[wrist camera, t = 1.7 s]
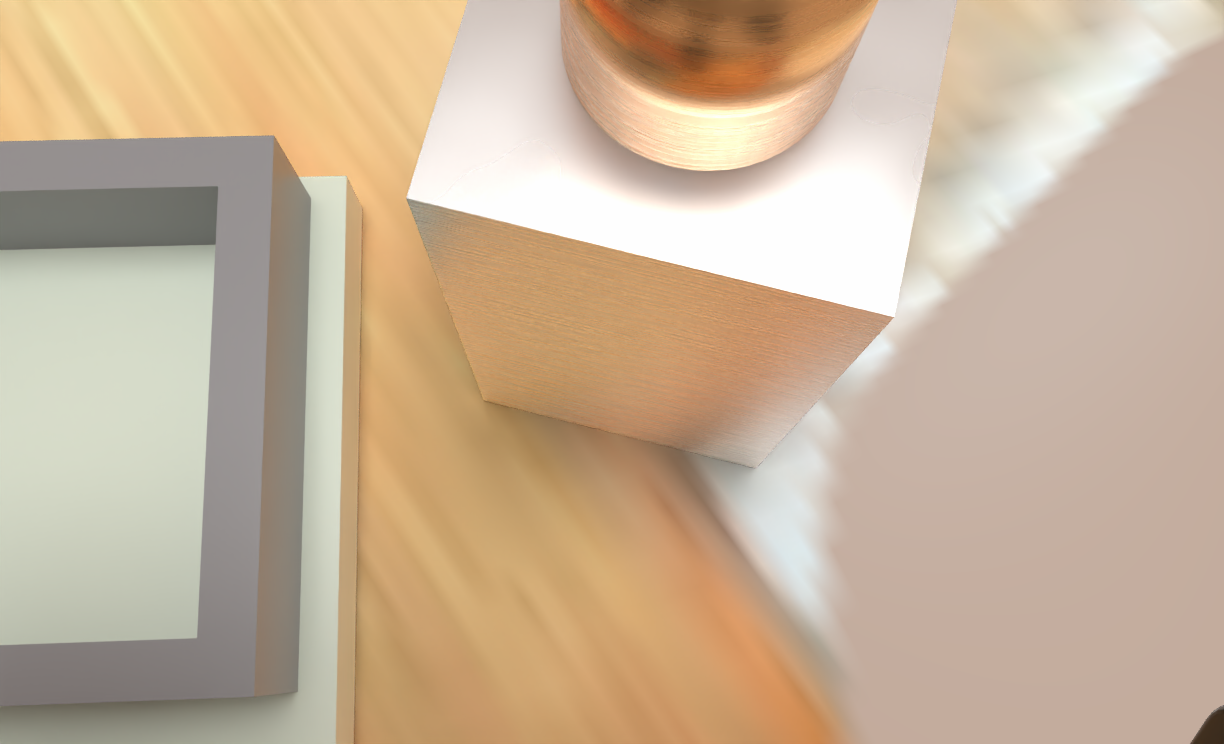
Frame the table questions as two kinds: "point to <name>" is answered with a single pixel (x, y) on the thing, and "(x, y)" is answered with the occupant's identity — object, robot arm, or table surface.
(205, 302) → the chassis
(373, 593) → the table surface
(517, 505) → the table surface
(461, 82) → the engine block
